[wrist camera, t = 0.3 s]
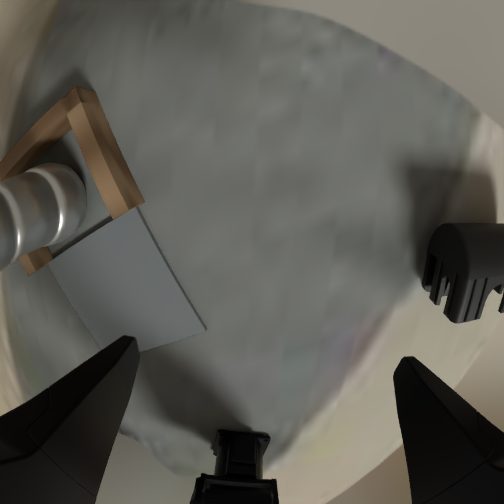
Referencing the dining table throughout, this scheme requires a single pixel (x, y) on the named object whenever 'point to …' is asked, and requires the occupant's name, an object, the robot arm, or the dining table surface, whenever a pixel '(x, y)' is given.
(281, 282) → the dining table surface
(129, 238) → the felt coaster
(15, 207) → the plastic bottle
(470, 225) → the end cap
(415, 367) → the robot arm
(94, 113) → the walnut collar
